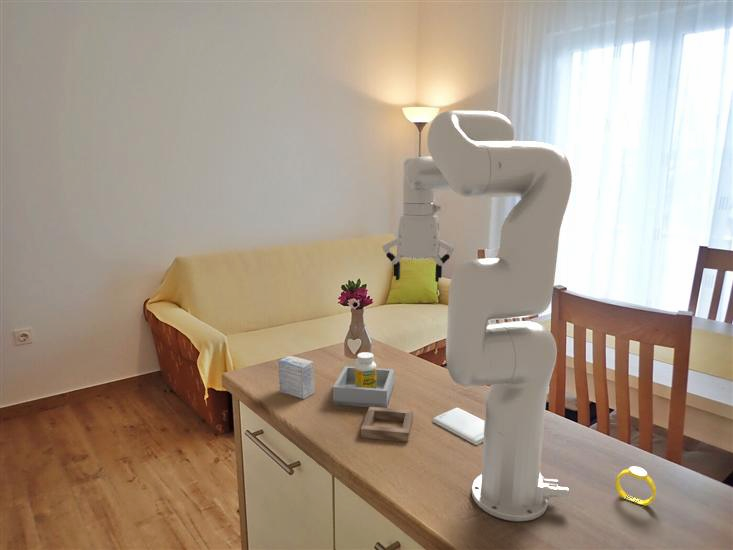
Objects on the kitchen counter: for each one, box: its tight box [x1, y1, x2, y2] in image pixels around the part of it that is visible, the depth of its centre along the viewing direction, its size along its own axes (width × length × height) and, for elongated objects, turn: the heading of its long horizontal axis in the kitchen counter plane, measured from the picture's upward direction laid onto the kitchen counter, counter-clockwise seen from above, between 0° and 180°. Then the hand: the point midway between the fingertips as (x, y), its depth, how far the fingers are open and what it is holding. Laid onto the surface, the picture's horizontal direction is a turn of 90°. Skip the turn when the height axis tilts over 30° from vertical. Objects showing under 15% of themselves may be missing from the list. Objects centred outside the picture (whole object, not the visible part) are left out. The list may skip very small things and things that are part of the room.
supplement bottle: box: [354, 351, 377, 388], centre depth 127 cm, size 5×5×10 cm
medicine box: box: [278, 355, 315, 400], centre depth 128 cm, size 8×4×9 cm, turn 58°
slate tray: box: [332, 365, 395, 408], centre depth 127 cm, size 13×13×4 cm
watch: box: [615, 465, 657, 507], centre depth 87 cm, size 6×3×6 cm, turn 51°
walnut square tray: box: [360, 407, 414, 442], centre depth 112 cm, size 10×10×2 cm
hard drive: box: [432, 407, 485, 446], centre depth 112 cm, size 2×8×12 cm
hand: (417, 279), depth 126 cm, fingers open, 9 cm apart
